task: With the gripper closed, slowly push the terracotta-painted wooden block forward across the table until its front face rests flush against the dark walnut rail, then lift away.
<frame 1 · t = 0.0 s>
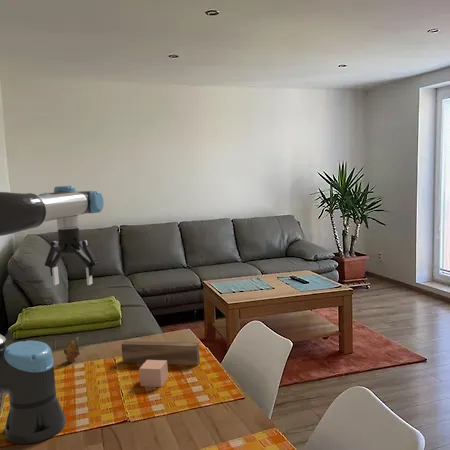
hand: (73, 284, 176), 28 cm above the table, fingers open, 13 cm apart
walnut rail: (160, 362, 170), on the table
block: (154, 381, 154), on the table
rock: (74, 361, 176), on the table
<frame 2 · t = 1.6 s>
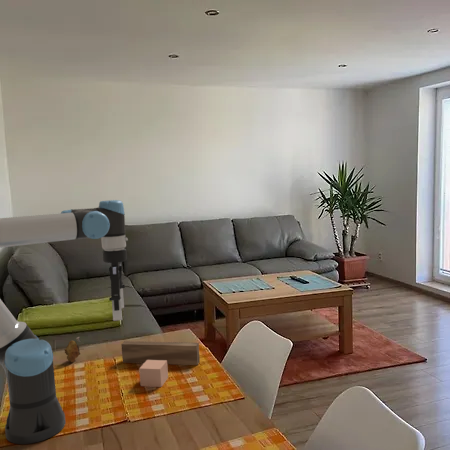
hand: (118, 313, 152), 23 cm above the table, fingers open, 13 cm apart
nothing on the table moved.
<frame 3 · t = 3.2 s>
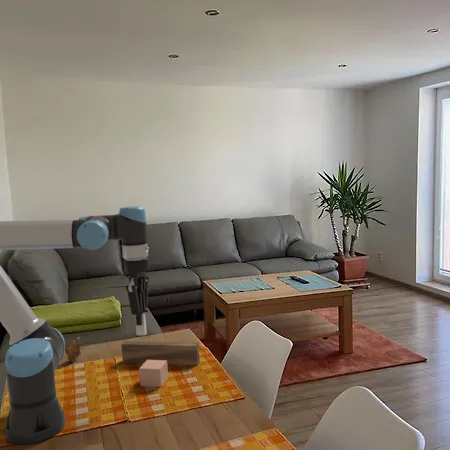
hand: (141, 334, 144), 19 cm above the table, fingers closed
nothing on the table moved.
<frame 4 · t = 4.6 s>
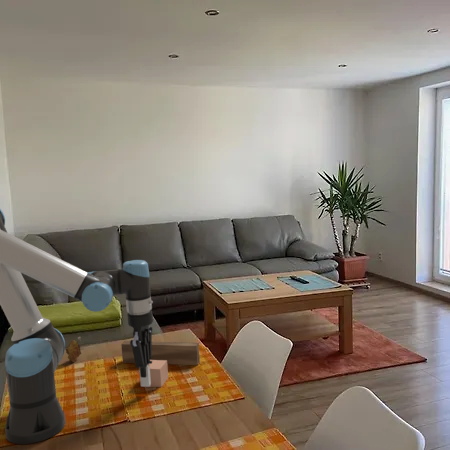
hand: (145, 385, 146), 3 cm above the table, fingers closed
nothing on the table moved.
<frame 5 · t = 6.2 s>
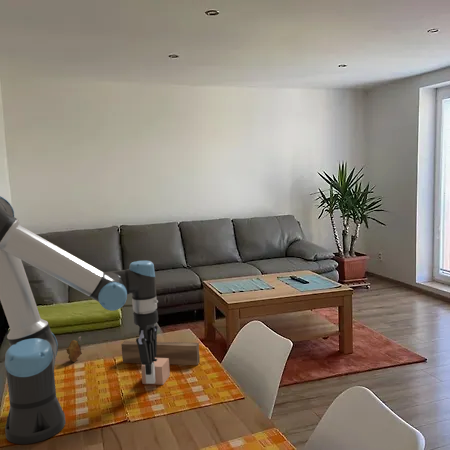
hand: (150, 382, 150), 2 cm above the table, fingers closed
block: (156, 379, 156), on the table, touching gripper
everything else where it was.
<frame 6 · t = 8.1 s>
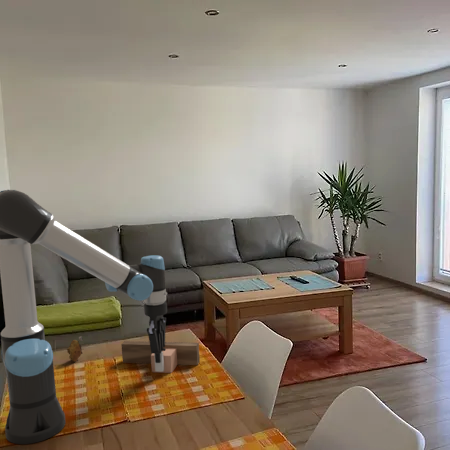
hand: (159, 370, 159), 2 cm above the table, fingers closed
block: (164, 368, 165), on the table, touching gripper, walnut rail
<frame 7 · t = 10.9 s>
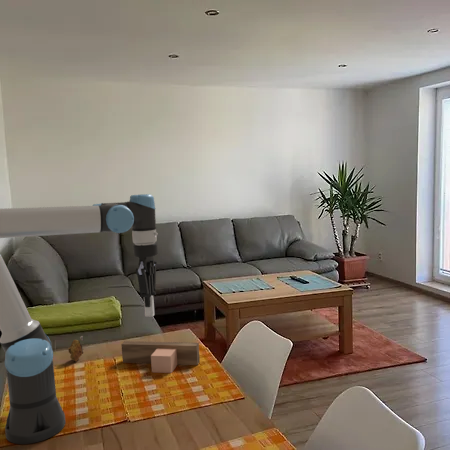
hand: (149, 315, 152), 22 cm above the table, fingers closed
block: (164, 368, 165), on the table
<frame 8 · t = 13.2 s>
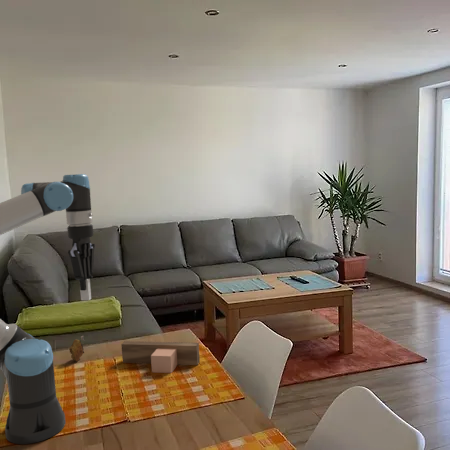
hand: (86, 299, 148), 29 cm above the table, fingers closed
at the end: block inside the target area on the table beside the walnut rail (0.2 cm from its centre), on the table; block tilted 0°; block moved 10.5 cm from its start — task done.
